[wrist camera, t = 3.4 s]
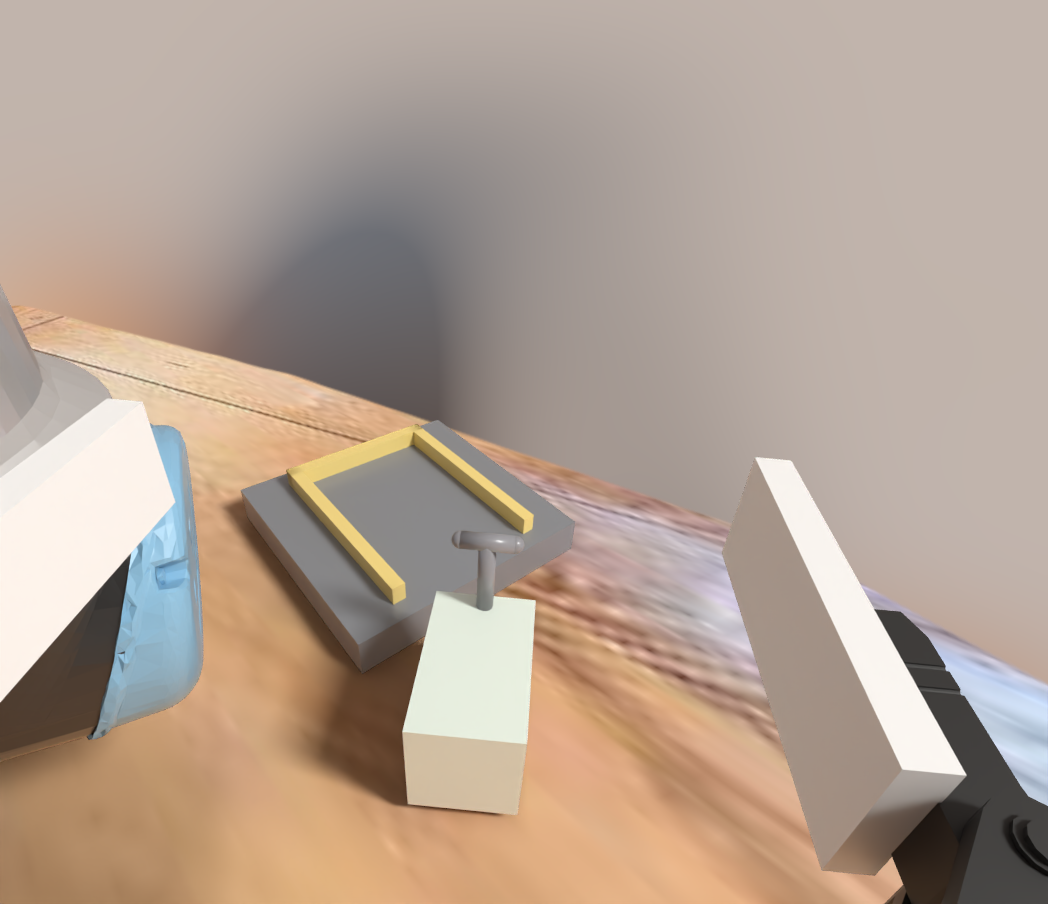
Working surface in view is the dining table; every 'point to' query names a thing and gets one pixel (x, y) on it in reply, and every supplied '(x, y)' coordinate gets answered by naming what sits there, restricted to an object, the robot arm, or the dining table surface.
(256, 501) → the dock
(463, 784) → the plunger detonator box
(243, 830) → the dining table surface
